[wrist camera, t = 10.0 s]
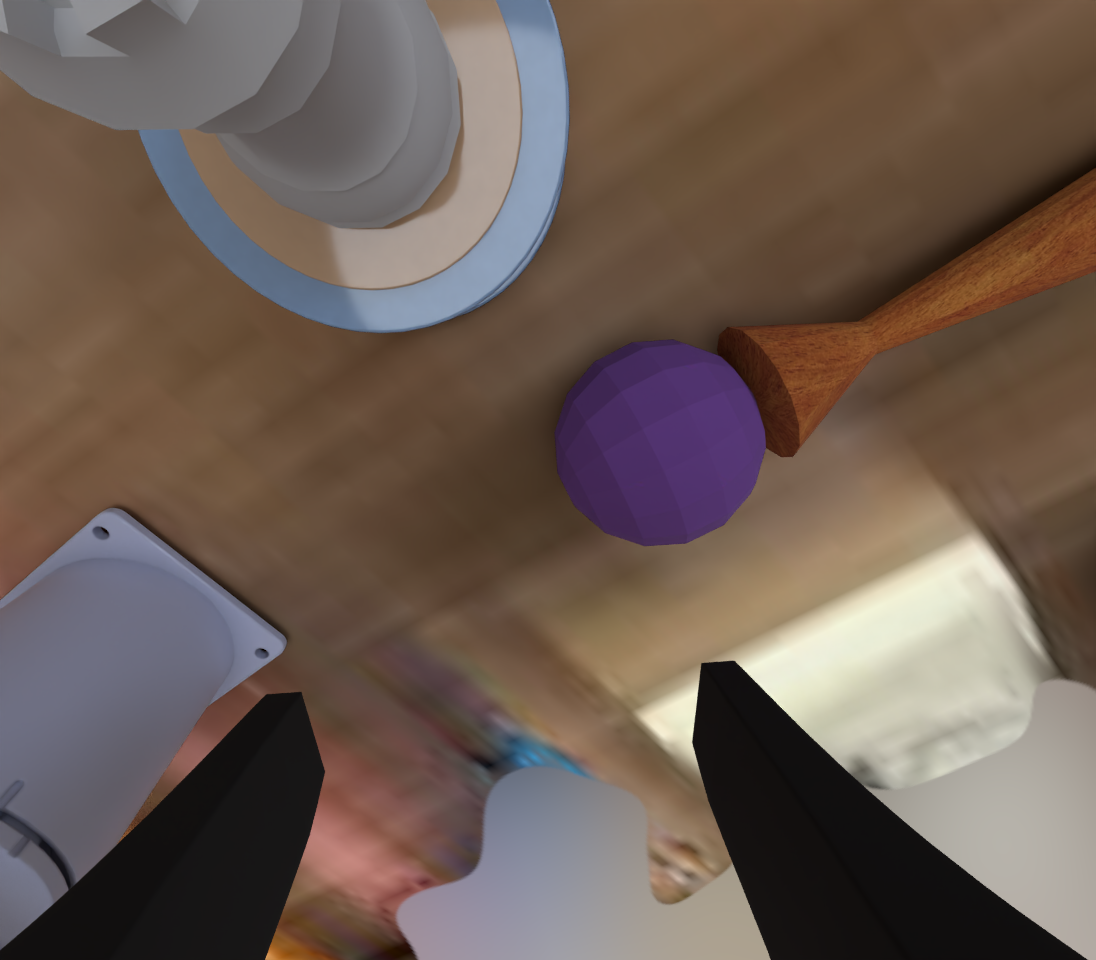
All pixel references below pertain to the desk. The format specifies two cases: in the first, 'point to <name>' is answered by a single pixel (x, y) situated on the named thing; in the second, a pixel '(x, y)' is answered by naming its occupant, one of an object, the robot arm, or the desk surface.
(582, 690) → the desk surface
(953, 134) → the desk surface
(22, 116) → the desk surface
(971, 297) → the kendama
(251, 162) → the rook chess piece
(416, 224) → the short blue cylinder
